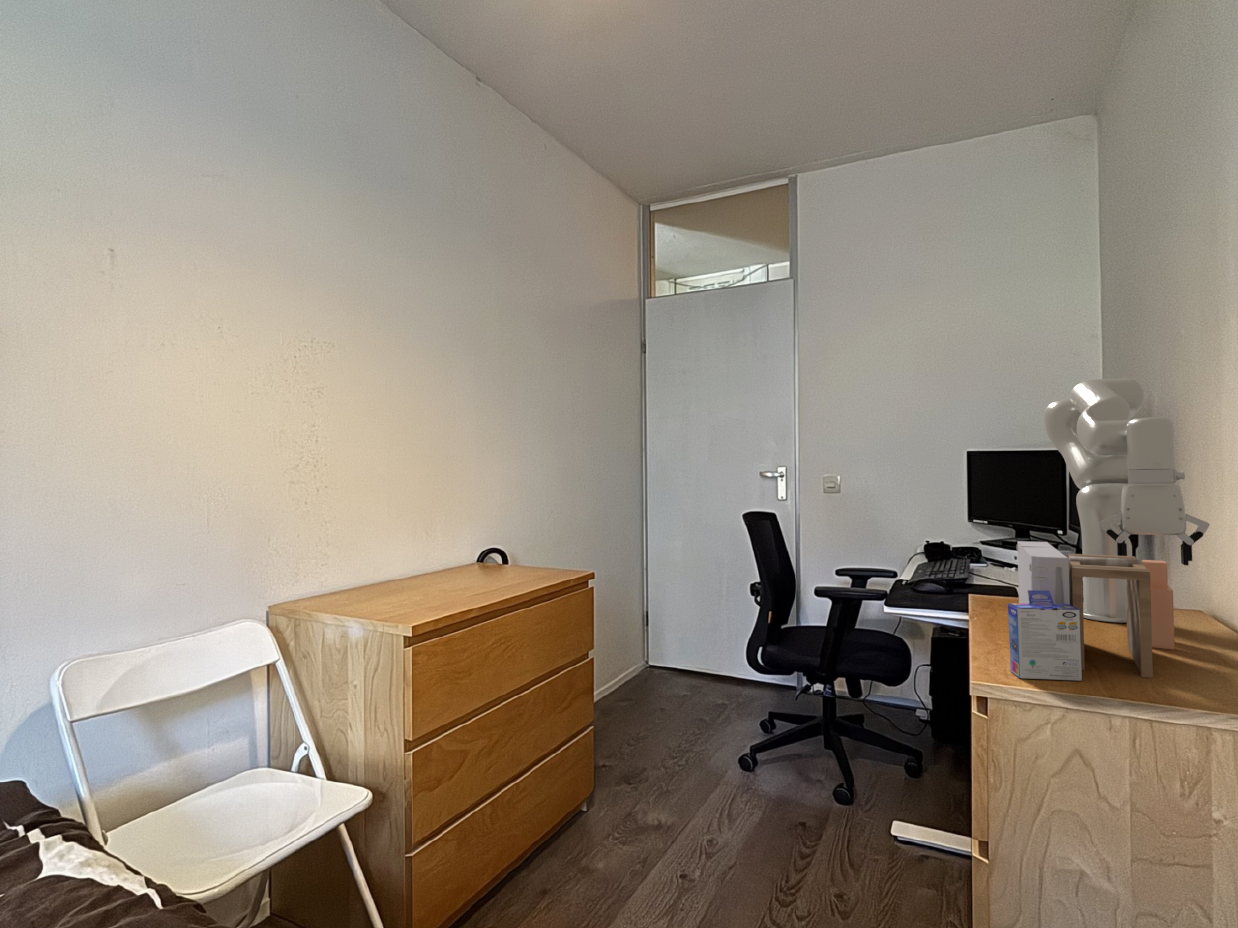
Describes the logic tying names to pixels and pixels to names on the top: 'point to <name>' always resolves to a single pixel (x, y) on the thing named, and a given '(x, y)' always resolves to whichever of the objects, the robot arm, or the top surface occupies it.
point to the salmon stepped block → (1161, 605)
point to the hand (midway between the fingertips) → (1154, 563)
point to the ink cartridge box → (1044, 639)
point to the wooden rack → (1135, 600)
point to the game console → (1042, 572)
